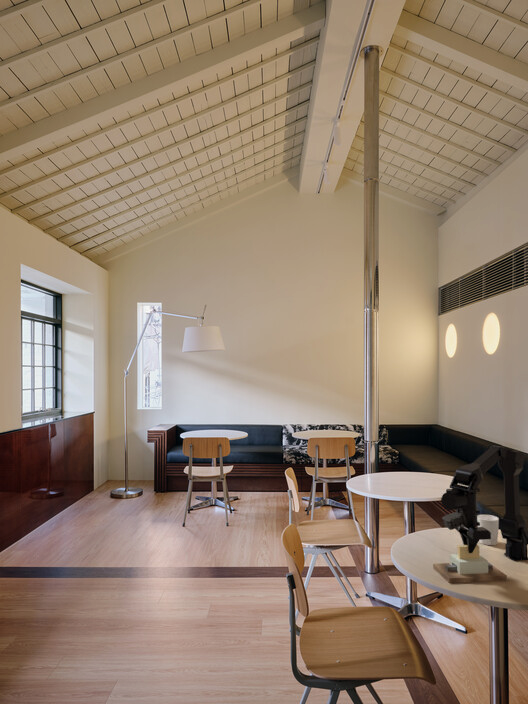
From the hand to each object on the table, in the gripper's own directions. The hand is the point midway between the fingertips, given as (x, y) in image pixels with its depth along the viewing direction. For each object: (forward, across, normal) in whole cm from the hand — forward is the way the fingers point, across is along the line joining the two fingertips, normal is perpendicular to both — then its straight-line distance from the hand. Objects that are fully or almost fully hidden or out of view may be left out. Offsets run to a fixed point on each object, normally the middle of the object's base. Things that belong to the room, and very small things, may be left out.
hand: (468, 551), depth 169 cm
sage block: (+6, 0, 0) cm, 6 cm away
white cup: (+8, -28, +23) cm, 37 cm away
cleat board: (+8, 0, 0) cm, 8 cm away
